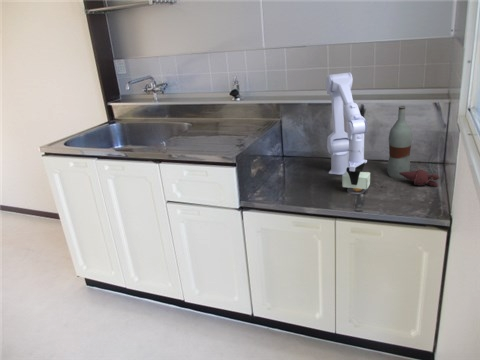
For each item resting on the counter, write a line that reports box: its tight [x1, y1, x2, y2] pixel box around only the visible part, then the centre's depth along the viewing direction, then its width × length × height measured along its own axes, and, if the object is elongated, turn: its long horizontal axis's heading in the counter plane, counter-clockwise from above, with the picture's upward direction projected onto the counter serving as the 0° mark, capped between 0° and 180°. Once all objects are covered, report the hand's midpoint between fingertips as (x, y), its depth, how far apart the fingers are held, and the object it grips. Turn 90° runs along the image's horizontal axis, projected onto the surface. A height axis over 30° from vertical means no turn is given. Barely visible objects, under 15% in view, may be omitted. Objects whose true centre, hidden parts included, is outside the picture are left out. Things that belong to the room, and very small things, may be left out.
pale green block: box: [341, 171, 371, 190], centre depth 161 cm, size 6×10×5 cm, turn 62°
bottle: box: [387, 105, 413, 180], centre depth 166 cm, size 9×9×30 cm
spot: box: [346, 187, 366, 195], centre depth 162 cm, size 7×7×1 cm
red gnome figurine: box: [399, 168, 440, 188], centre depth 160 cm, size 7×7×15 cm
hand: (356, 181), depth 161 cm, fingers closed on pale green block, 6 cm apart
